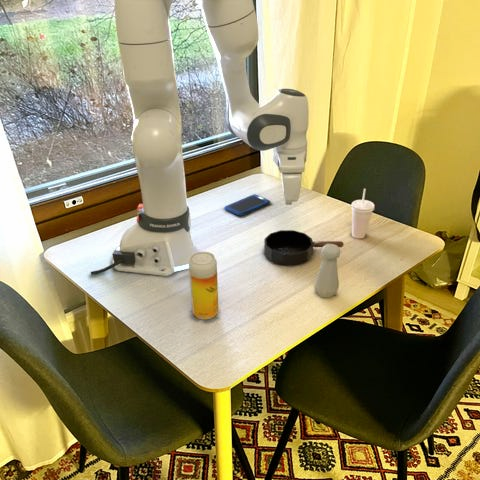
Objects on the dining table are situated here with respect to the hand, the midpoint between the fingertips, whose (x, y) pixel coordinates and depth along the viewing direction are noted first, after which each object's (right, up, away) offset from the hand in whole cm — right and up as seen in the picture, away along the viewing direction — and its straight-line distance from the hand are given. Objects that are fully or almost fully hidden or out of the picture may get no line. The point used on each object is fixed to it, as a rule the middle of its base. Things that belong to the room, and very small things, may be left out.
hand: (288, 202), depth 146 cm
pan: (+4, -15, -4) cm, 16 cm away
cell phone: (-11, +3, +19) cm, 22 cm away
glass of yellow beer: (-22, -32, -25) cm, 46 cm away
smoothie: (+21, -9, +4) cm, 23 cm away
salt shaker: (+7, -27, -19) cm, 33 cm away
